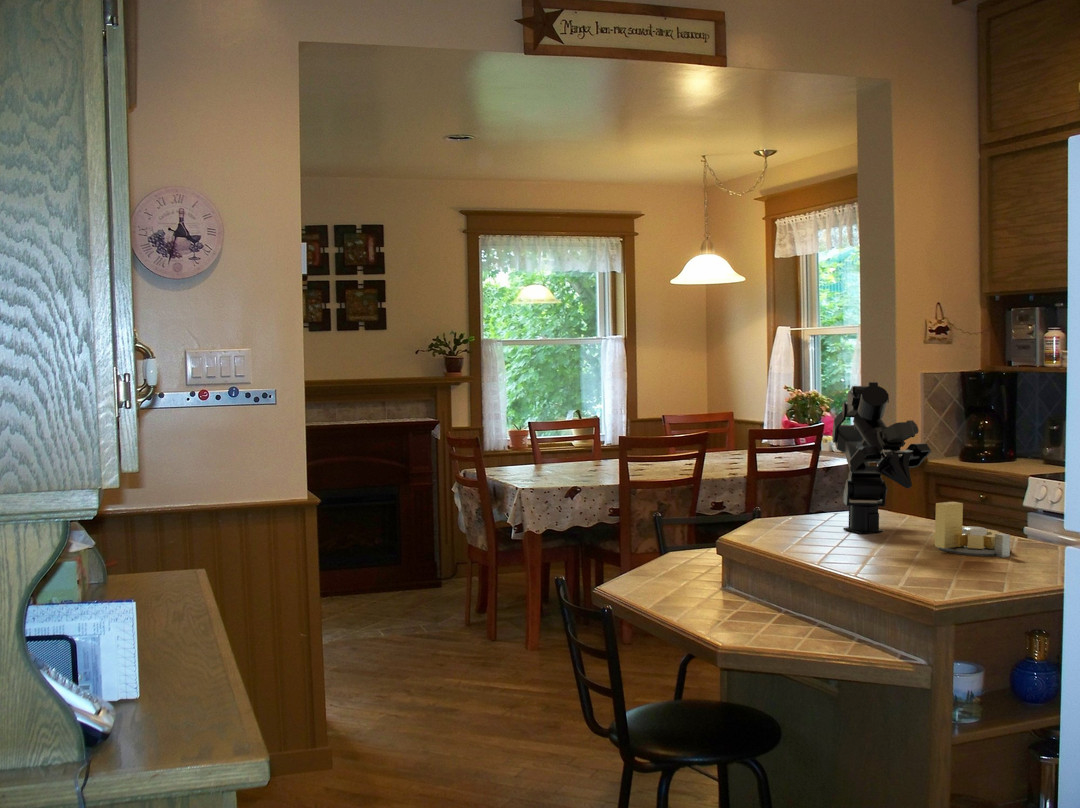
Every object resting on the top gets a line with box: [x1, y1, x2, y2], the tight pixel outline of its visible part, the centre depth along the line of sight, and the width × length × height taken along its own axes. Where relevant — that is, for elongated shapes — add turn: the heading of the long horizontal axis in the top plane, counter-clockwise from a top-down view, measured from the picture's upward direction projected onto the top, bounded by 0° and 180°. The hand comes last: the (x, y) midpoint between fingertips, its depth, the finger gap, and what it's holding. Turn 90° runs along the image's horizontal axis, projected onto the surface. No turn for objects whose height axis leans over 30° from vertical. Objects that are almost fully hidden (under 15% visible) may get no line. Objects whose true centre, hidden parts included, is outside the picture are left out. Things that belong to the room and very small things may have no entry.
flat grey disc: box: [937, 525, 1011, 559], centre depth 216 cm, size 16×14×4 cm
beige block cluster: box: [934, 501, 1002, 549], centre depth 215 cm, size 11×16×9 cm
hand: (909, 487), depth 222 cm, fingers closed
